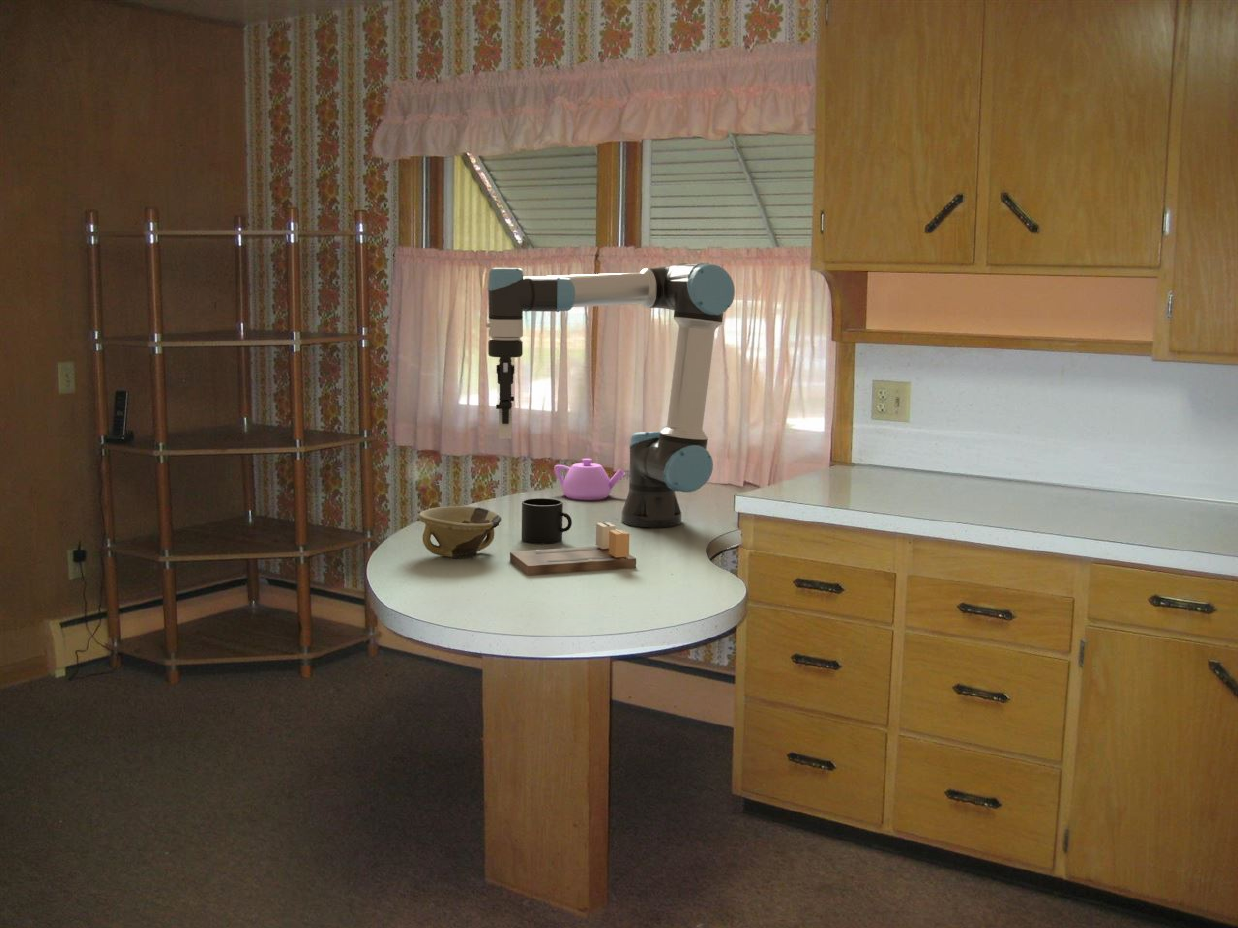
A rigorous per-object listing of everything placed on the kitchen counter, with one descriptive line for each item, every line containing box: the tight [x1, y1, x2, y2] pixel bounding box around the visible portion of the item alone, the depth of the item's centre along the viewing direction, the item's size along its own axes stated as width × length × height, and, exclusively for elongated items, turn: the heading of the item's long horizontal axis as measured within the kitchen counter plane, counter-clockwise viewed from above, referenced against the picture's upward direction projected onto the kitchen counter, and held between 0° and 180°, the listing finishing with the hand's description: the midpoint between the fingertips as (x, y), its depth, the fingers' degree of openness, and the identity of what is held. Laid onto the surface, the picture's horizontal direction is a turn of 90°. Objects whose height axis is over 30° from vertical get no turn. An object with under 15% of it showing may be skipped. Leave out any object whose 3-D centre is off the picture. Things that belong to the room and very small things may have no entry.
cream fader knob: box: [595, 521, 617, 549], centre depth 264 cm, size 3×4×5 cm
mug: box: [521, 497, 573, 545], centre depth 280 cm, size 9×12×9 cm
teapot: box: [553, 458, 626, 501], centre depth 336 cm, size 14×20×11 cm
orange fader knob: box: [609, 528, 630, 557], centre depth 257 cm, size 3×4×5 cm
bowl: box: [418, 505, 502, 559], centre depth 263 cm, size 18×18×10 cm
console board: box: [509, 545, 637, 576], centre depth 258 cm, size 24×13×2 cm, turn 112°
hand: (505, 434), depth 269 cm, fingers open, 13 cm apart
